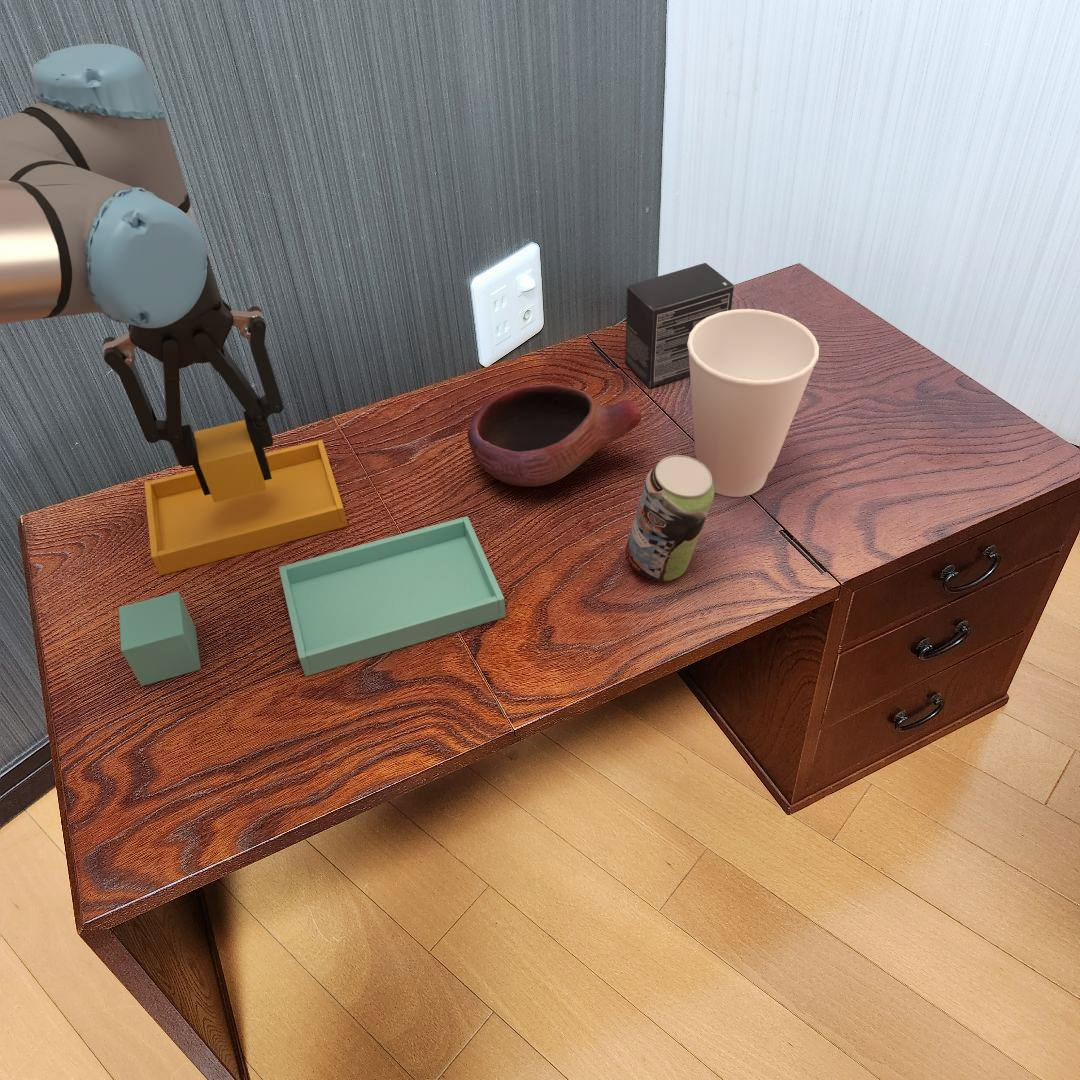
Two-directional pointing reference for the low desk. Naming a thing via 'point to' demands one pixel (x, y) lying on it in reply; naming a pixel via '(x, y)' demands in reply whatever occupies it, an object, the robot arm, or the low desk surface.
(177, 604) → the teal block
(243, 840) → the low desk surface
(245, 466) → the ochre block
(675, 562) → the beverage can
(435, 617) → the teal tray
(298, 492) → the ochre tray
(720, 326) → the cup
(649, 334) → the small box
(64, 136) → the robot arm
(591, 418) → the bowl
